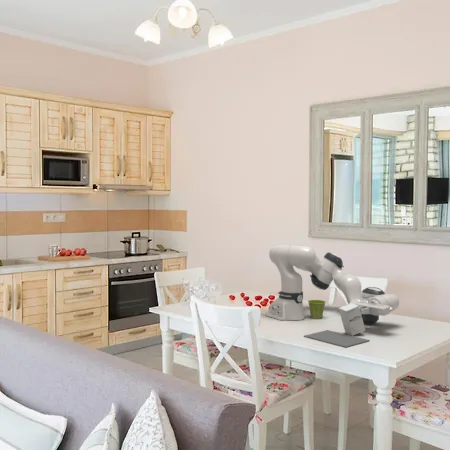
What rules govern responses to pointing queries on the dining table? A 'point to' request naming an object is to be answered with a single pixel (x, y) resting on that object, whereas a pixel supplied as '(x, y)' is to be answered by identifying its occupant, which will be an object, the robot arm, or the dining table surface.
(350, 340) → the mat
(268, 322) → the dining table surface
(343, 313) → the supplement box
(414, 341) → the dining table surface
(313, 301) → the plant pot
